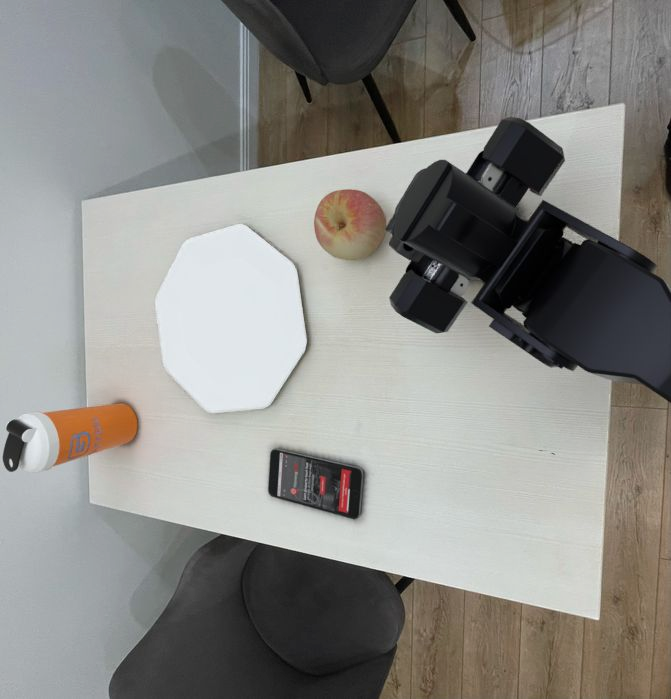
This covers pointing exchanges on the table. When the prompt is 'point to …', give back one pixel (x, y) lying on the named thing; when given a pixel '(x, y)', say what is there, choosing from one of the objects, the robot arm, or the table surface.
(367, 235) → the apple
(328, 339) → the table surface
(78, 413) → the shaker bottle
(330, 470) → the smartphone
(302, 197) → the table surface
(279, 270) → the plate
